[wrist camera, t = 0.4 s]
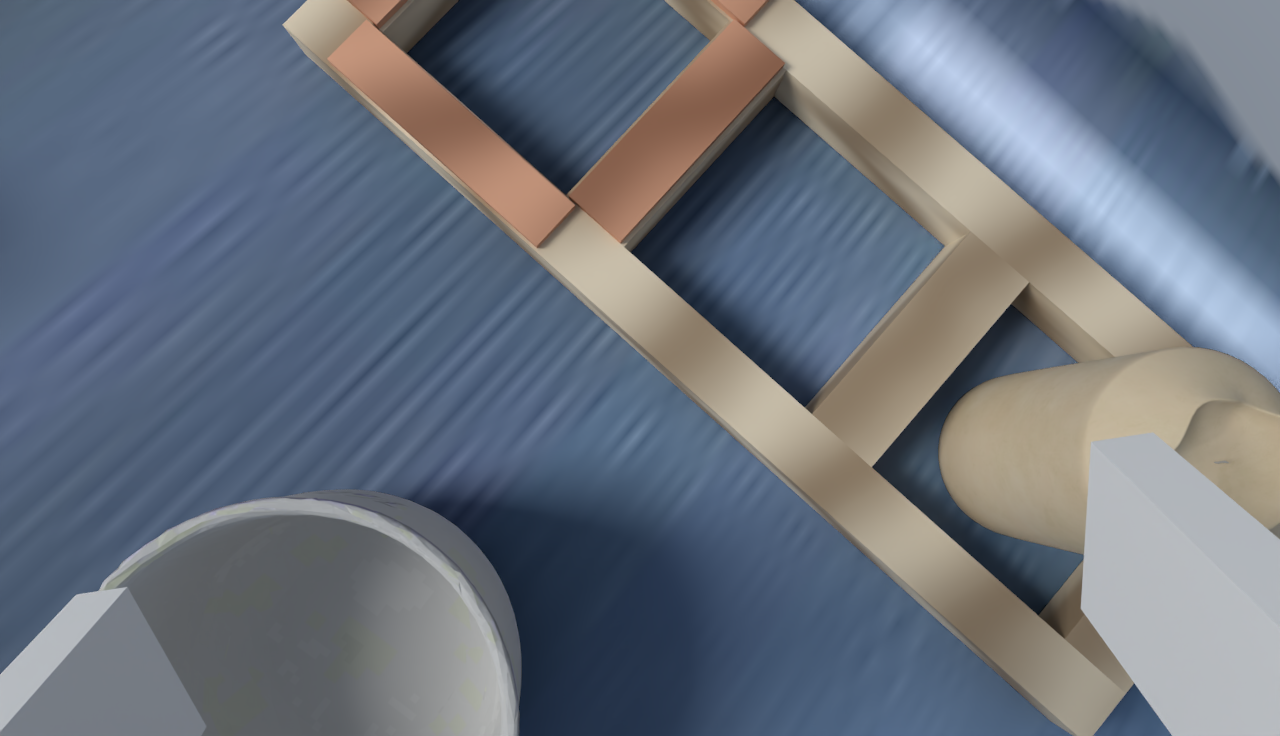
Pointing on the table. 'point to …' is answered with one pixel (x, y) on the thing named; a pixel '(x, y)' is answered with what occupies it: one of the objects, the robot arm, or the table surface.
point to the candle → (1108, 437)
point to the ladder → (722, 374)
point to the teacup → (331, 619)
